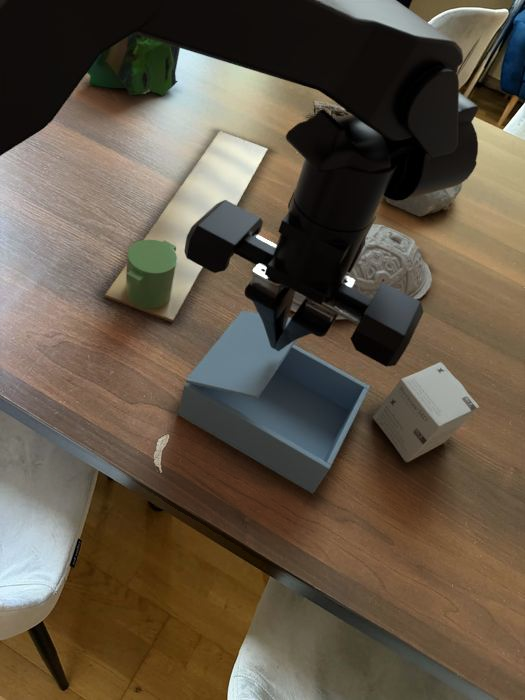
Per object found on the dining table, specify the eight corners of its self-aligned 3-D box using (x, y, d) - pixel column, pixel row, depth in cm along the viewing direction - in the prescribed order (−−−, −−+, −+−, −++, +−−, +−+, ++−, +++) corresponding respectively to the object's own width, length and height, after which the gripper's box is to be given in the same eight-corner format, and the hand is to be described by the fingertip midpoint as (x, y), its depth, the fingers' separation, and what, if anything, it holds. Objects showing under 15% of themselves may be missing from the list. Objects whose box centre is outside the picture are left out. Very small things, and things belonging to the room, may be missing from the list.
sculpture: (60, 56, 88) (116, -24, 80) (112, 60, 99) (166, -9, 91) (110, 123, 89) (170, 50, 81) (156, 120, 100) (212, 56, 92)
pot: (150, 321, 62) (154, 285, 58) (110, 298, 63) (111, 261, 59) (184, 286, 67) (191, 250, 63) (147, 265, 67) (151, 228, 63)
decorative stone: (406, 166, 97) (422, 134, 92) (460, 195, 95) (478, 164, 90) (375, 197, 88) (390, 163, 84) (433, 230, 87) (452, 197, 82)
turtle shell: (242, 241, 74) (258, 201, 68) (391, 228, 85) (414, 193, 80) (292, 339, 67) (314, 304, 62) (445, 310, 79) (475, 279, 74)
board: (172, 322, 63) (173, 320, 63) (104, 297, 63) (104, 294, 63) (267, 150, 90) (267, 148, 89) (219, 133, 90) (219, 130, 89)
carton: (177, 414, 56) (184, 385, 52) (231, 345, 63) (240, 315, 59) (312, 494, 54) (329, 469, 50) (352, 413, 61) (370, 386, 57)
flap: (186, 382, 52) (185, 379, 52) (242, 313, 59) (242, 310, 59) (257, 399, 49) (256, 396, 48) (308, 323, 56) (307, 320, 56)
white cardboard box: (370, 418, 61) (399, 377, 56) (411, 399, 64) (441, 359, 59) (406, 465, 59) (439, 427, 53) (446, 443, 61) (482, 405, 56)
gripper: (479, 212, 44) (396, 341, 56) (267, 107, 46) (230, 252, 58) (444, 293, 37) (357, 422, 48) (195, 164, 39) (170, 316, 51)
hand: (277, 346), depth 52 cm, fingers closed
